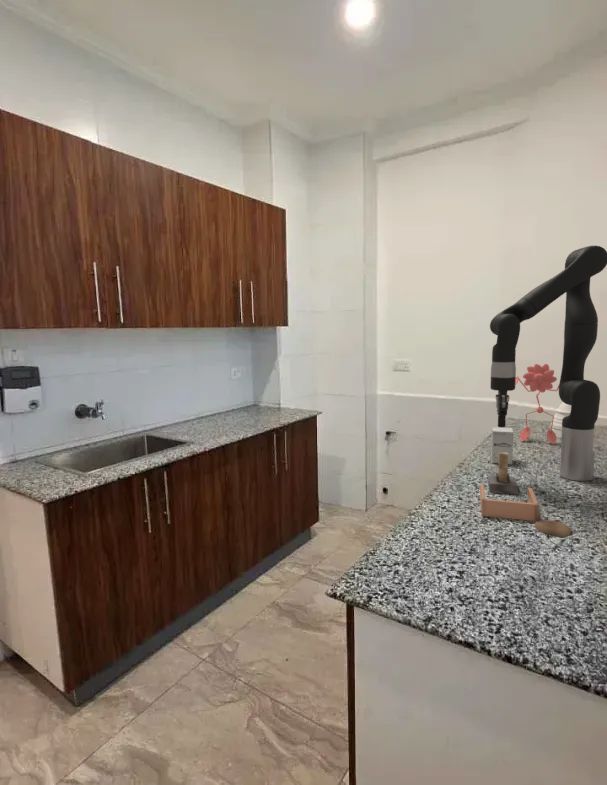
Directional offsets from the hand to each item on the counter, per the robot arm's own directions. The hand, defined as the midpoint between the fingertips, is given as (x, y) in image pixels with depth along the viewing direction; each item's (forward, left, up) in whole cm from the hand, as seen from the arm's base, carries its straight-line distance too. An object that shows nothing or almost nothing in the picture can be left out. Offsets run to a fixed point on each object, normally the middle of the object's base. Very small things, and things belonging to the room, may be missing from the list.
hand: (501, 426), depth 149 cm
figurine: (-18, -50, -18) cm, 56 cm away
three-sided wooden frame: (0, +26, -18) cm, 32 cm away
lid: (-10, +37, -19) cm, 43 cm away
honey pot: (-33, -70, -18) cm, 80 cm away
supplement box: (-2, -21, -18) cm, 28 cm away
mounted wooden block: (0, +10, -18) cm, 21 cm away
